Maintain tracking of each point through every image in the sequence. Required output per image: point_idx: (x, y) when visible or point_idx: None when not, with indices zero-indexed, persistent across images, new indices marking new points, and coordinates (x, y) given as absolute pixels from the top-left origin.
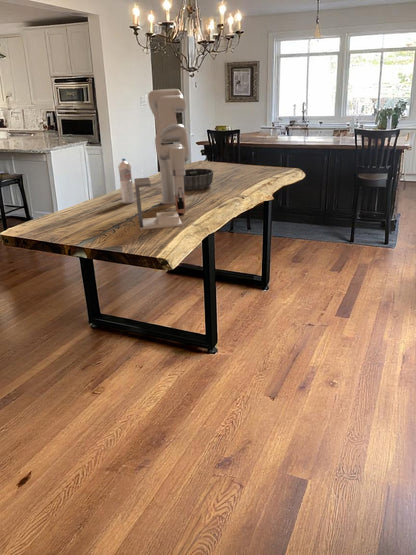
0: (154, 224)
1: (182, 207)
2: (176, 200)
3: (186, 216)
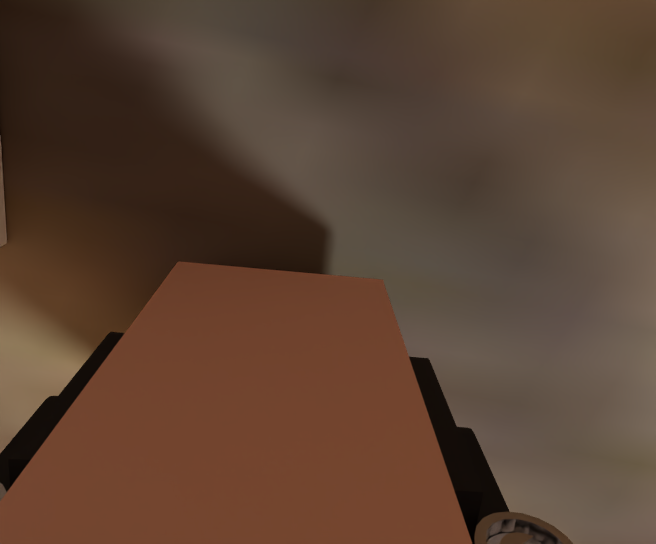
0: None
1: None
2: (47, 467)
3: (32, 406)
